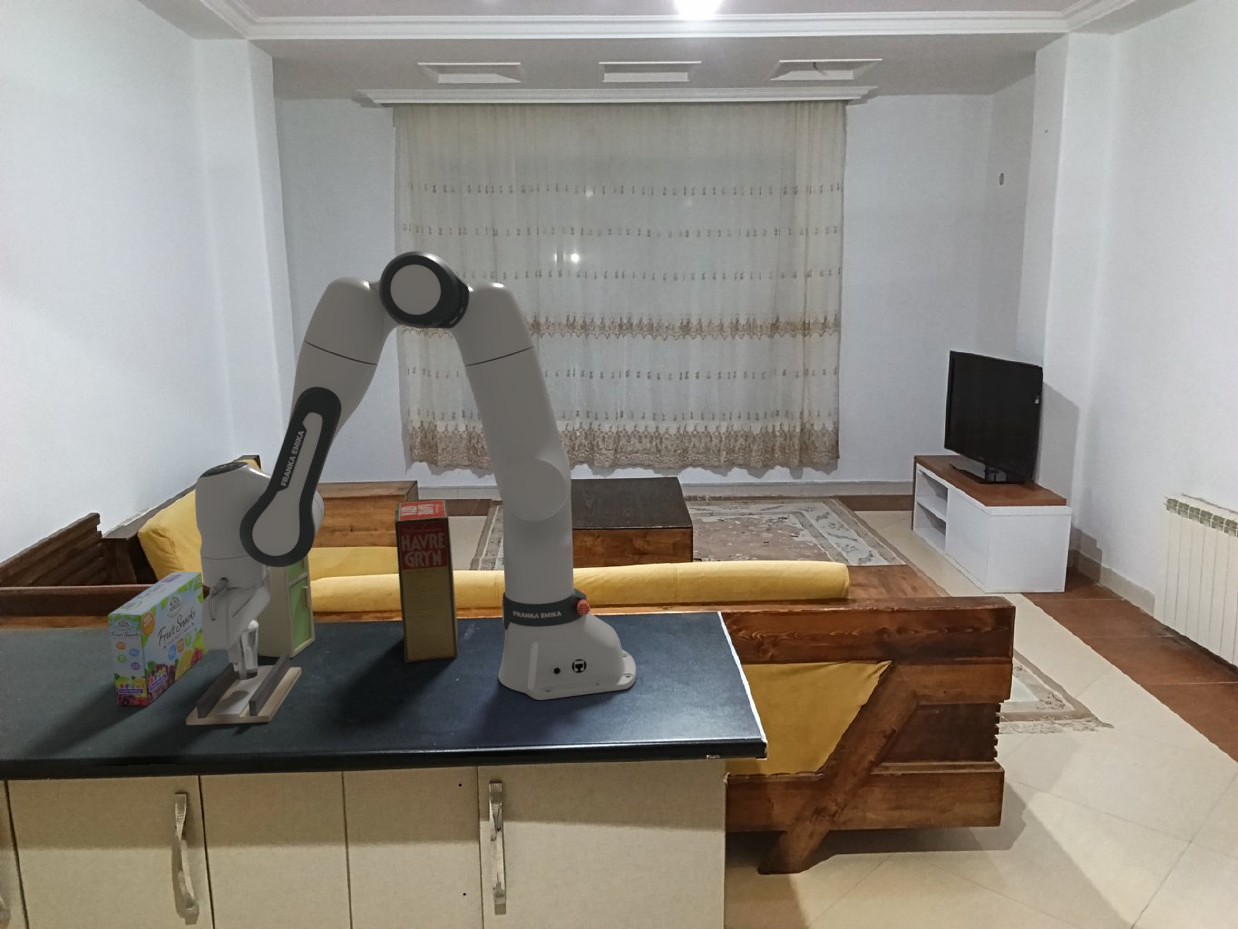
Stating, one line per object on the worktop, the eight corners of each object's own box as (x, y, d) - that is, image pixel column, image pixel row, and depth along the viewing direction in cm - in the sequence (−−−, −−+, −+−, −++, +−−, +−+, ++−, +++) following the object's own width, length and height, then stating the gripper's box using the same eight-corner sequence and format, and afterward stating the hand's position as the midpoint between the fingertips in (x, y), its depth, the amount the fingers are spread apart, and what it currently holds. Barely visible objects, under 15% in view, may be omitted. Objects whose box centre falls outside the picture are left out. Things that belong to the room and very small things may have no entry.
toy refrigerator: (296, 659, 158) (285, 542, 154) (257, 656, 159) (245, 540, 155) (319, 641, 166) (310, 529, 161) (282, 638, 167) (272, 527, 163)
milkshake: (246, 667, 146) (241, 607, 145) (268, 674, 144) (263, 612, 142) (221, 677, 143) (215, 615, 141) (243, 684, 140) (238, 621, 138)
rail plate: (301, 672, 152) (299, 653, 152) (269, 721, 136) (267, 699, 135) (227, 675, 152) (225, 655, 151) (186, 725, 135) (183, 703, 134)
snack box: (152, 706, 141) (140, 614, 138) (116, 707, 141) (103, 615, 138) (211, 651, 162) (202, 569, 159) (179, 651, 162) (169, 570, 159)
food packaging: (404, 634, 168) (395, 501, 163) (456, 629, 170) (449, 498, 165) (403, 663, 156) (393, 521, 150) (459, 657, 157) (451, 517, 152)
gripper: (230, 591, 129) (240, 682, 132) (275, 548, 149) (282, 628, 152) (185, 592, 129) (195, 684, 132) (235, 549, 149) (244, 629, 152)
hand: (242, 653), depth 142 cm, fingers closed on milkshake, 4 cm apart
